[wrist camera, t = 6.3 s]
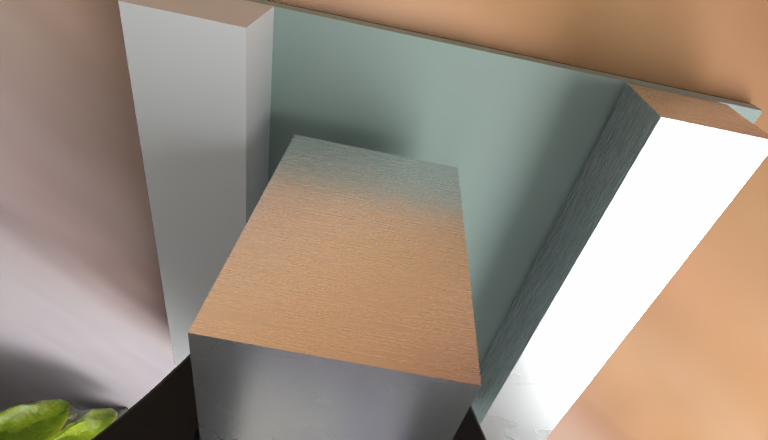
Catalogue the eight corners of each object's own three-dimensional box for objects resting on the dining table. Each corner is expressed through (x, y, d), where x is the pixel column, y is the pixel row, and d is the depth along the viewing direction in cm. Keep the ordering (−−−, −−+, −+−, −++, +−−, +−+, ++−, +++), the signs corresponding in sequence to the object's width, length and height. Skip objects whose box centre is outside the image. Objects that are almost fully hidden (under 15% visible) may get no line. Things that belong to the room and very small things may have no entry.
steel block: (388, 381, 16) (371, 588, 12) (278, 361, 16) (214, 563, 11) (457, 167, 11) (481, 385, 6) (294, 134, 11) (188, 332, 6)
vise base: (488, 479, 24) (493, 531, 22) (202, 430, 23) (182, 480, 21) (753, 104, 11) (819, 148, 9) (152, -25, 11) (91, -5, 9)
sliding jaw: (476, 477, 23) (485, 586, 19) (427, 469, 23) (427, 577, 19) (726, 104, 11) (868, 207, 7) (626, 82, 11) (722, 178, 7)
